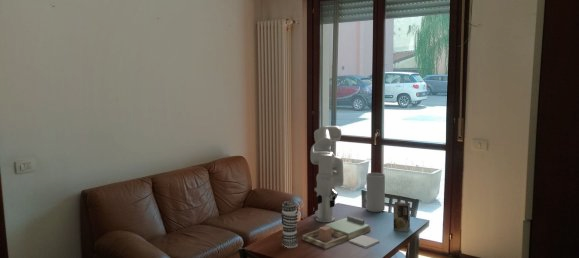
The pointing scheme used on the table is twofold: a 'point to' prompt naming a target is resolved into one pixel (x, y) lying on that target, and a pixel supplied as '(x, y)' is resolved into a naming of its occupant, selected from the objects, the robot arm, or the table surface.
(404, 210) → the coffee box
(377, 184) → the cylinder vase
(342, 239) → the well frame
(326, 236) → the terracotta block
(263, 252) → the table surface
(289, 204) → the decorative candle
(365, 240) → the grey mat
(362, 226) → the sliding lid
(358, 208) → the table surface
